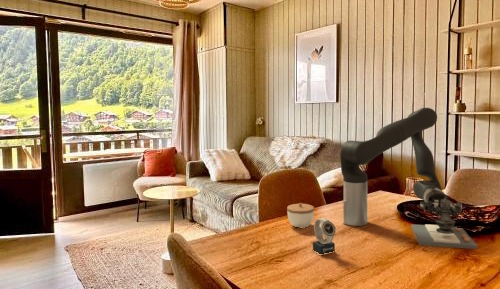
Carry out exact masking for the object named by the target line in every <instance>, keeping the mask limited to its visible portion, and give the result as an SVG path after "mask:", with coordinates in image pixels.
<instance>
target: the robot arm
mask: <svg viewBox="0 0 500 289" xmlns="http://www.w3.org/2000/svg"><path fill="white" fill-rule="evenodd" d="M437 121H438V114H437V112H436V111H435V110H434V109H433V108H432V107H431V108H430V107H422V108H419V109H417V110H415V111H413V112H411V113H410V114H408V116H407V117H405V118H401V119H398V120H396V121H394V122H391V123H388V124H387V125H385V126H383V127H381V128H379V129H378V131H377V133H376V135H375V137H373V138H371V139H368V140H363V141H359V140H347V141H345V142H344V143H342V145H341V148H340V167H341V168H340V169H341V175H342V179H343V181H342V182H343V201H342V202H343V208H342V209H343V213H342V214H343V225H349V226H353V227H357V226H358V227H362V226H366V225H368V218H369V217H368V174H367V173H366V172H365V171H364V170H362V168H361V167H360V166H362V165H366V164H369V163H370V162H371V161H373V160H374V159H375V158H377V157H378V156H379V155H381V154H383V153H384V152H386V151H388V150H390V149H392V148H394V147H396V146H397V145H400V144H401V143H403V142H405V141H406V140H408V139H409V138H410V140H411V142H412V146H413V150H414V156H415V168H416V173H417V175H418V176H421V177H425V178H427V179H428V180H417V181H415V183H414V184H413V187H412V188H413V193H414V196H416V197H417V198H419V199H421V200H420V207H419V208H420V209H422V210H424V211H425V212H427V213H430V214H431V213H434V214H435V215H436V216H438V217H440V216H442V210H441V200H443V199H445V197H446V199H447V200H449V201H450V209H451V210H452V211H451V212H450V216H452V217H453V218H455V217H457V216H458V215H460V214H461V212H462V210H463V202H461V201H458V202H456V203H454V202H453V201H451V200H450V198H449V196H448V195H447V194H446V193H445V192H444V191H443V188H442V186H441V183H440V181H439V179H438V176H437V173H436V169H435V159H434V155H433V152H432V150H430V148H429V146H427V144H426V143H425V140H424V138H423V131H425V130H427V129H430V128H432V127H433V126H435V125H436V123H437Z"/></svg>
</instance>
